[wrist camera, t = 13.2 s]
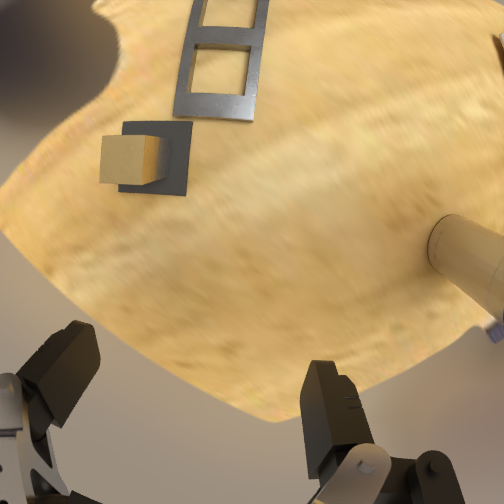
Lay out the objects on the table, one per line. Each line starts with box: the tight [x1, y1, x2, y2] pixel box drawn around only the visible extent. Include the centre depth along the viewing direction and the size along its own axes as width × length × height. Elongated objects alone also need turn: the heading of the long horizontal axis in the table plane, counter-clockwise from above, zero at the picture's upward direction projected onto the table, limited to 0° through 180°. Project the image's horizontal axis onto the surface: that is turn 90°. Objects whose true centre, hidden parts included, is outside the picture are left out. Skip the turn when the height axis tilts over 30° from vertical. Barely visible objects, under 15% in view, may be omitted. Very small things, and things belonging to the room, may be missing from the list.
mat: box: [118, 121, 193, 196], centre depth 31 cm, size 9×9×1 cm
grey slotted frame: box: [173, 0, 269, 122], centre depth 25 cm, size 9×22×2 cm, turn 173°
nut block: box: [100, 135, 173, 185], centre depth 26 cm, size 4×4×9 cm
